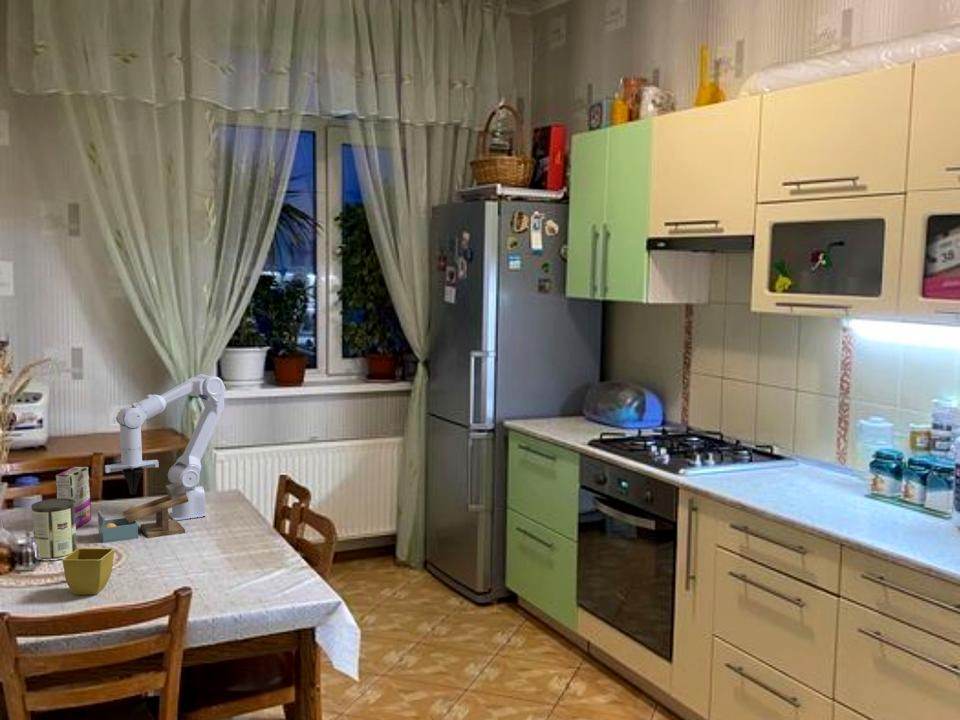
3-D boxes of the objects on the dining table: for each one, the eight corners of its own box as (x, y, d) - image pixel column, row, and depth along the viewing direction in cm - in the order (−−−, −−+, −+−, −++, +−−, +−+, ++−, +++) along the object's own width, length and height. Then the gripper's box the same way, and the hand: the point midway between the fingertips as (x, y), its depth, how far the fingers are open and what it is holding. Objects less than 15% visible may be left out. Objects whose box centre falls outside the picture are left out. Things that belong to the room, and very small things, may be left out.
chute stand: (175, 522, 264) (174, 497, 264) (185, 532, 254) (184, 506, 253) (140, 527, 259) (139, 502, 259) (148, 537, 249) (147, 511, 248)
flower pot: (116, 584, 211) (115, 547, 210) (102, 598, 202) (100, 559, 201) (79, 585, 210) (77, 548, 210) (63, 598, 202) (61, 559, 201)
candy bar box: (75, 520, 268) (73, 466, 266) (92, 520, 268) (89, 466, 266) (57, 530, 257) (54, 474, 255) (74, 530, 256) (71, 474, 255)
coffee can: (53, 548, 240) (51, 496, 238) (85, 551, 237) (83, 499, 236) (24, 559, 230) (22, 506, 228) (57, 563, 227) (55, 509, 226)
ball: (118, 525, 252) (107, 519, 250) (120, 528, 249) (109, 522, 247) (111, 536, 251) (100, 530, 250) (113, 539, 248) (102, 534, 247)
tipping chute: (179, 492, 267) (174, 476, 266) (188, 501, 257) (183, 484, 256) (121, 513, 259) (116, 496, 258) (128, 523, 249) (123, 506, 248)
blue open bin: (132, 530, 257) (131, 506, 256) (138, 537, 249) (137, 513, 248) (98, 534, 252) (97, 510, 251) (103, 542, 244) (102, 517, 244)
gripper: (107, 453, 252) (109, 500, 253) (160, 447, 260) (161, 493, 261) (102, 449, 258) (104, 494, 259) (154, 444, 266) (156, 488, 267)
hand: (133, 493), depth 260 cm, fingers closed
